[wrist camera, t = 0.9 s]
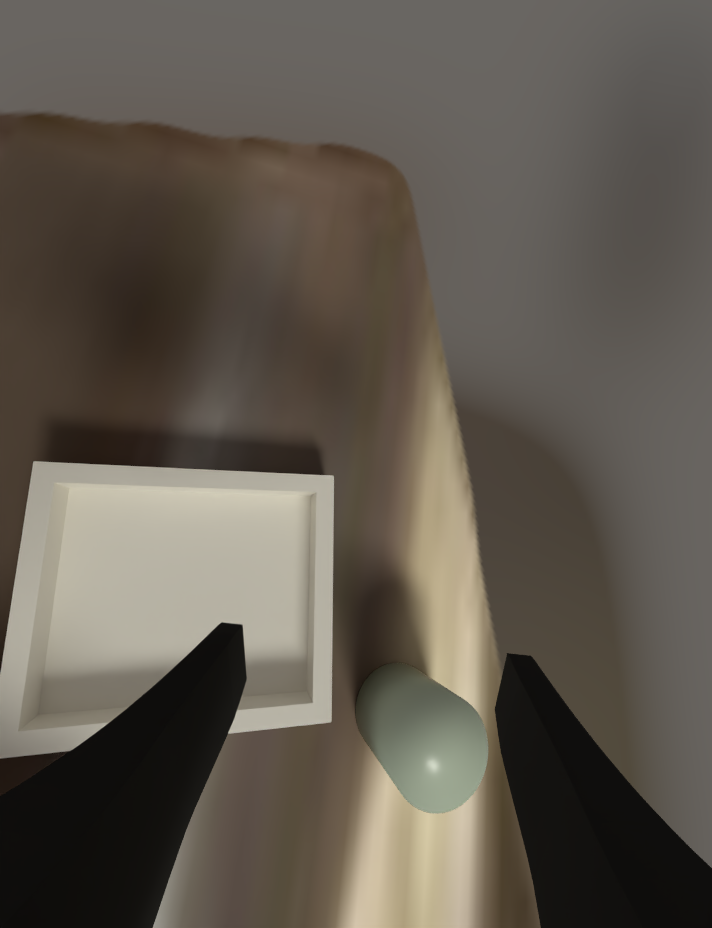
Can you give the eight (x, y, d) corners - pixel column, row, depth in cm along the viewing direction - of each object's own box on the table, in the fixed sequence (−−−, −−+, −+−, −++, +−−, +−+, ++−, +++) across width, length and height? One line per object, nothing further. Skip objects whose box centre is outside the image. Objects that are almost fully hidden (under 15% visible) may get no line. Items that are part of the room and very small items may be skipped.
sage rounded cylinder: (434, 748, 26) (491, 804, 20) (355, 759, 24) (391, 822, 19) (431, 659, 27) (484, 689, 21) (355, 665, 25) (389, 698, 20)
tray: (322, 705, 24) (331, 722, 22) (15, 735, 20) (-14, 759, 18) (325, 482, 27) (333, 475, 25) (54, 470, 23) (33, 461, 21)
